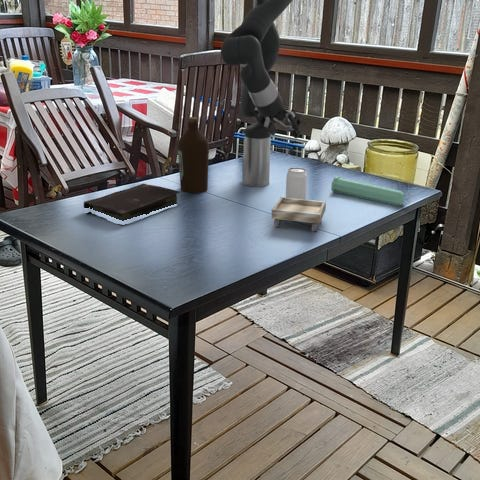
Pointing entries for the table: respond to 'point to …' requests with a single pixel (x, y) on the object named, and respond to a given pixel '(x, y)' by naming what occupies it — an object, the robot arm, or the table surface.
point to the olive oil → (193, 159)
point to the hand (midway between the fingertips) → (285, 134)
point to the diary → (134, 201)
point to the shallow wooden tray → (298, 211)
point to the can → (296, 183)
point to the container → (367, 191)
